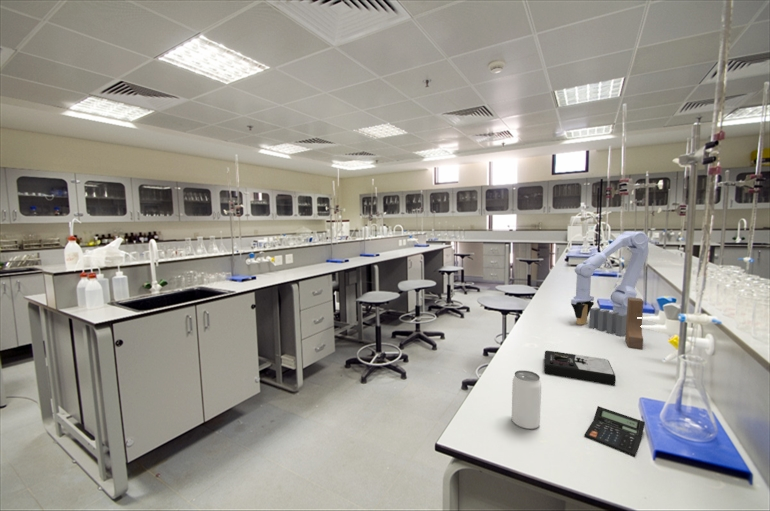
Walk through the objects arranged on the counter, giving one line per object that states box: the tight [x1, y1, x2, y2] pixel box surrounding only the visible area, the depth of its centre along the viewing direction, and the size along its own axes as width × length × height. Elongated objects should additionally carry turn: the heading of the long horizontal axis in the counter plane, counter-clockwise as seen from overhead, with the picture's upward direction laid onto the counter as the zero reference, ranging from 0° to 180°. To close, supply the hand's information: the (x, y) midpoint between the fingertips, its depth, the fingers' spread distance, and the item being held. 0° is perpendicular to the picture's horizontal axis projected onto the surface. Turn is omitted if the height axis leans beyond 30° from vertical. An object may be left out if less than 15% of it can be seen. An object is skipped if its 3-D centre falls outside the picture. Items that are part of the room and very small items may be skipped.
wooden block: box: [624, 297, 644, 350], centre depth 129 cm, size 9×4×18 cm, turn 150°
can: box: [511, 369, 542, 430], centre depth 80 cm, size 6×6×12 cm
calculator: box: [583, 405, 646, 458], centre depth 76 cm, size 9×12×3 cm
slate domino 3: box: [606, 310, 619, 335], centre depth 144 cm, size 5×2×9 cm, turn 118°
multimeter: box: [543, 350, 617, 386], centre depth 108 cm, size 13×19×5 cm
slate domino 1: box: [588, 307, 602, 330], centre depth 151 cm, size 5×2×9 cm, turn 118°
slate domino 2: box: [597, 309, 611, 332], centre depth 147 cm, size 5×2×9 cm, turn 118°
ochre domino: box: [576, 304, 588, 325], centre depth 156 cm, size 5×2×9 cm, turn 118°
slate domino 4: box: [615, 313, 627, 338], centre depth 141 cm, size 5×2×9 cm, turn 118°
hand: (581, 317), depth 156 cm, fingers closed on ochre domino, 5 cm apart
